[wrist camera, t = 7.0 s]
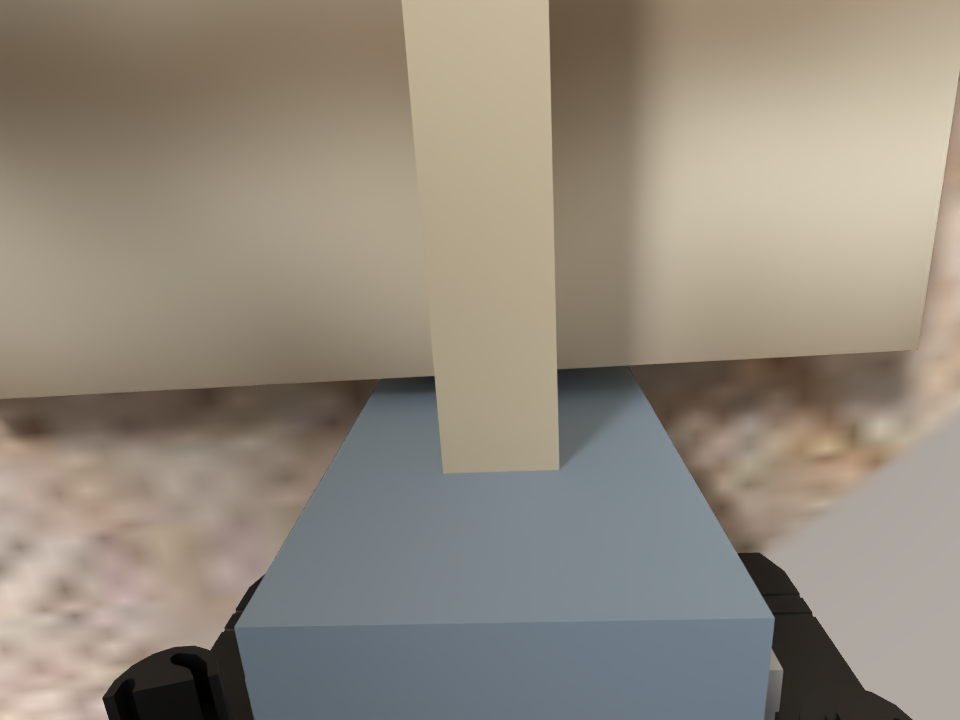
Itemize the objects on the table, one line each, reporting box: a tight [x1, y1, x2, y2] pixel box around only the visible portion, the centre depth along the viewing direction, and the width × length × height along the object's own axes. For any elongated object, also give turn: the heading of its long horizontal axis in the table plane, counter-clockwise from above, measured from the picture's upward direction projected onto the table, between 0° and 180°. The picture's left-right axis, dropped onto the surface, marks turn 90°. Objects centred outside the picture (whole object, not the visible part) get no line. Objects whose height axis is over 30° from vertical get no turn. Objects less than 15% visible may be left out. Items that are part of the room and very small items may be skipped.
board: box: [0, 0, 960, 399], centre depth 10 cm, size 12×20×3 cm, turn 94°
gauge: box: [234, 0, 775, 720], centre depth 9 cm, size 15×5×8 cm, turn 3°
